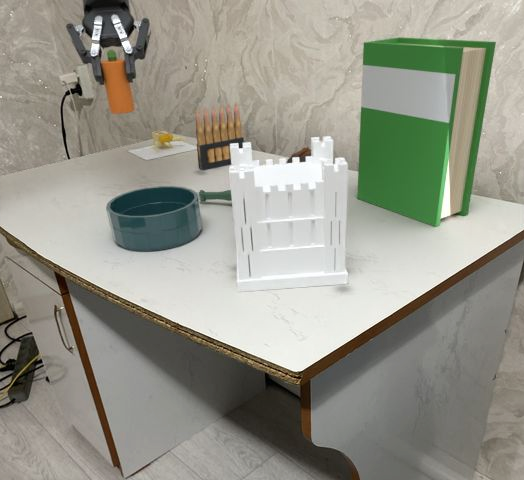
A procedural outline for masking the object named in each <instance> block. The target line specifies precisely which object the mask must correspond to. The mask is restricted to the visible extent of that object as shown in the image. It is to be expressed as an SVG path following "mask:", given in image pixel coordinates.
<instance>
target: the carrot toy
mask: <svg viewBox="0 0 524 480" xmlns="http://www.w3.org/2000/svg"><path fill="white" fill-rule="evenodd" d="M106 56H107V60H102V61H101V67H102V72H103V77H104V84H105V85H104V86H105V91H106V96H107V101H108V106H109V110H110V113H111V114H116V115H119V114H128V113H133V112H134V111H135V106H134V100H133V99H134V98H133V94H132V89H131V88H132V87H131V83H129V82H128V78H127V73H126V65H125V58H120V59H118V57H117V53H116V51H115V50H114V49H108V51H107V53H106Z"/></svg>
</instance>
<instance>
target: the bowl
mask: <svg viewBox="0 0 524 480" xmlns="http://www.w3.org/2000/svg"><path fill="white" fill-rule="evenodd" d="M196 192H197V191H195V190H194V189H191V188H188V187H186V186H185V187H184V186H176V185H158V186H149V187H148V186H147V187H141V188H138V189H137V188H136V189H133V190H130V191H127V192H124V193H121V194H119V195H117V196H115V197H113V198H111V199H110V200H109V201H108V202H107V203H106V207H105V211H106V215H107V219H108V223H109V227H110V232H111V237H112V239H113V240H114V241H115V243H116V244H118V246H120V247H122V248H123V249H127V250H129V251H135V252H156V251H163V250H164V251H165V250H169V249H173V248H176V247H180V246H183V245H186V244H188V243H189V242H191V241H193V240H194V239H196V238H197V237H198V236H199V234H200V232H201V230H202V229H203V223H202V216H201V207H200V202H199V199H198V194H197V193H196Z"/></svg>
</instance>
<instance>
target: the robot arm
mask: <svg viewBox="0 0 524 480" xmlns="http://www.w3.org/2000/svg"><path fill="white" fill-rule="evenodd" d="M82 7H83V18H82V20H81V23H80V24H77V25H74V24H73V23H66V25H65V28H66V31H67V33H68V36H69V39H70V41H71V43H72V45H73V47H74V49H75V51H76V53H77V54H78V56H79V58H80V61H81V63H82V64H84V65H88V64H91V69H92V75H93V78H94V80H95V82H96V83H99V85H100V86H105V82H104V77H103V72H102V67H101V62H102V61H103V56H104V55H105V51H106V49H107V48H110V47H111V48H112V47H115V48H119V47H120V49H121V51H122V54H123V56H124V57H123V59H124V60H125V65H126V73H127V78H128V82H129V83H130V84H131V83H133V82H134V80H135V79H137V71H136V70H137V69H136V61H137V60H141V61H142V60H145V58H146V55H147V52H148V47H149V43H150V39H151V36H152V30H151V23H150V19H149V18H147V17H144V18H142V19H141V20H137V19H135V17H134V16H133V15H132V13H131V6H130V0H82ZM134 31H136V34H137V38H136V42H135V45H134V46H132V45H131V43H130V41H129V39H130V37H131V35H132V33H133V32H134ZM84 34H86V35H87V36H88V37H89V38H90V39H91V45H90V50H89V49H87V48H86V46H85V44H84V43H83V40H84Z"/></svg>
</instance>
